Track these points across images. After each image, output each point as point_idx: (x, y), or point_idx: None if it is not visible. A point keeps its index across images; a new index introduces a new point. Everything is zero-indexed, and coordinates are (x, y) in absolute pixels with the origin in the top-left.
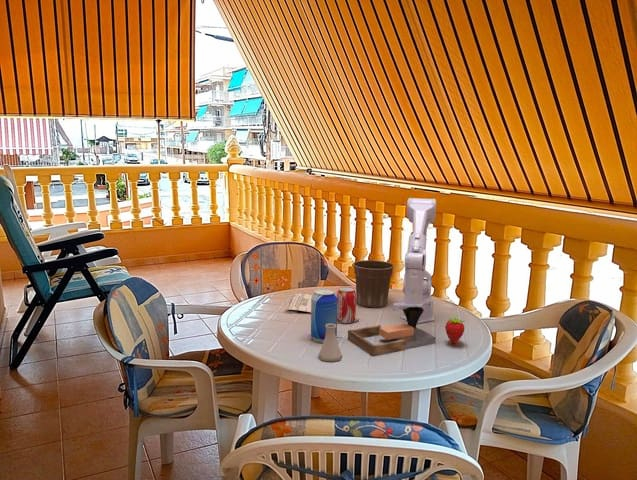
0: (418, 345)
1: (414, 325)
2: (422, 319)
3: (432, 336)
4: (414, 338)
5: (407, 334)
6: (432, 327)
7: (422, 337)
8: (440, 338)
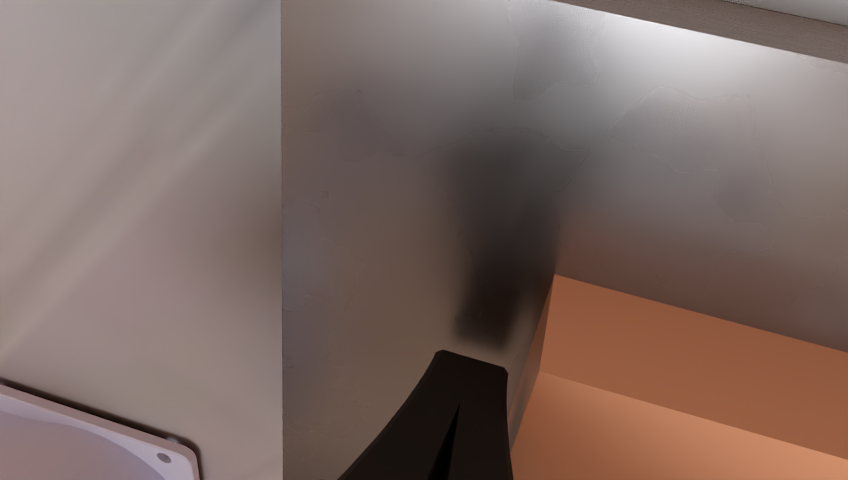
0: (736, 7)
1: (461, 413)
2: (65, 440)
3: (314, 12)
4: (710, 170)
5: (702, 333)
6: (50, 298)
7: (529, 102)
8: (131, 18)
